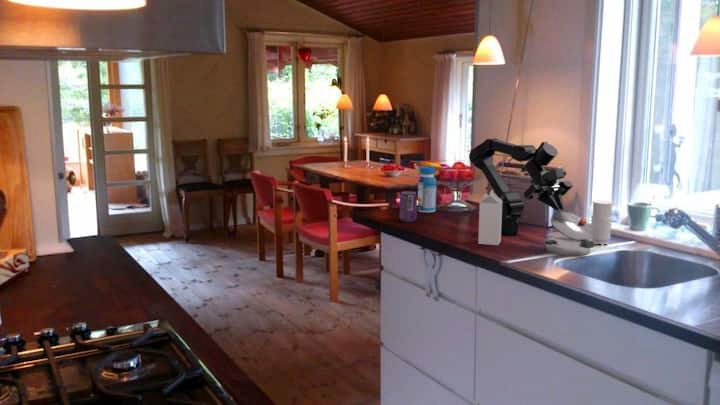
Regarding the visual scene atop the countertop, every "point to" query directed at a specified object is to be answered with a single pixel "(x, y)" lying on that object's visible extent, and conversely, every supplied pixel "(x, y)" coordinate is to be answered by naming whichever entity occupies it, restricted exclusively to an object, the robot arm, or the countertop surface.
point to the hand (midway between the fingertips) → (560, 209)
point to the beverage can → (408, 206)
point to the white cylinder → (601, 221)
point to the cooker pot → (567, 245)
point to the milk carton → (490, 219)
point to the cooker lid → (572, 226)
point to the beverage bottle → (427, 190)
